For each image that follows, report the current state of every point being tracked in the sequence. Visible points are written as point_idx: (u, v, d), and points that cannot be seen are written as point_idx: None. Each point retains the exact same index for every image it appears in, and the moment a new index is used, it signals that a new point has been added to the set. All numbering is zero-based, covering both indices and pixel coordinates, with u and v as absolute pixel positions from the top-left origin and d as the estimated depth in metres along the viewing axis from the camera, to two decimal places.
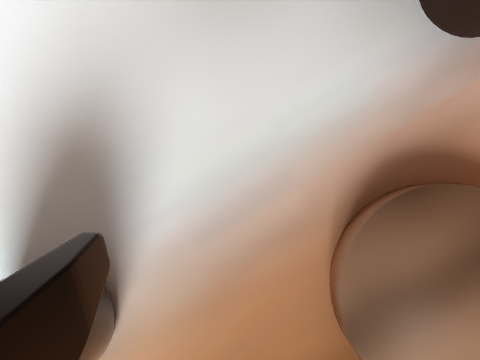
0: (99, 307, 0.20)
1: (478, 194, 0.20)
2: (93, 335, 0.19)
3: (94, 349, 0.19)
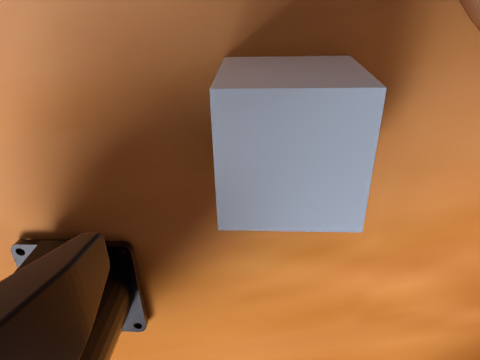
0: None
1: None
2: None
3: None
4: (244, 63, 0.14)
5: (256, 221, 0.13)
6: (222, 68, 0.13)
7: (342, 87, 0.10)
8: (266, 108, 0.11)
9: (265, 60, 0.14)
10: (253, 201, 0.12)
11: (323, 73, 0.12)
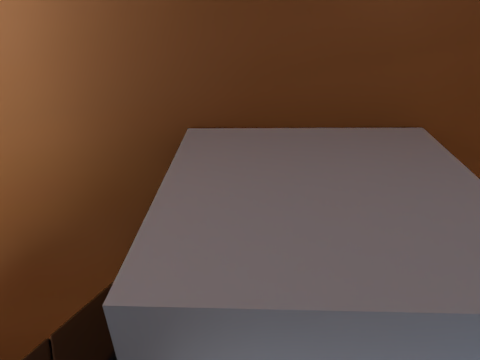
0: None
1: None
2: None
3: None
4: (221, 155, 0.07)
5: None
6: (172, 176, 0.06)
7: None
8: (268, 349, 0.04)
9: (264, 144, 0.07)
10: None
11: (401, 209, 0.05)
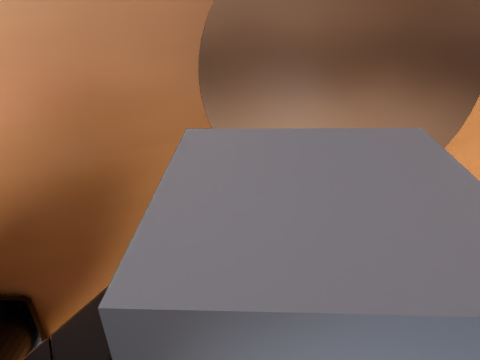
0: None
1: None
2: None
3: None
4: (219, 156, 0.07)
5: None
6: (169, 177, 0.06)
7: None
8: (266, 351, 0.04)
9: (262, 145, 0.07)
10: None
11: (399, 210, 0.05)
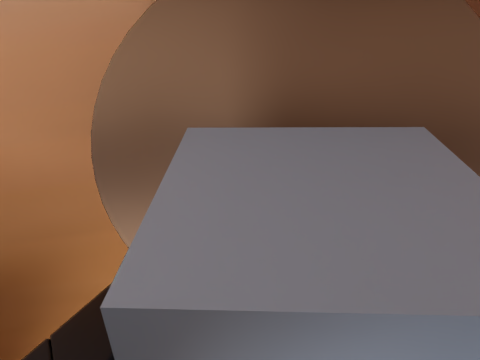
0: None
1: (461, 27, 0.09)
2: None
3: None
4: (221, 155, 0.07)
5: None
6: (171, 176, 0.06)
7: None
8: (269, 351, 0.04)
9: (264, 144, 0.07)
10: None
11: (403, 209, 0.05)
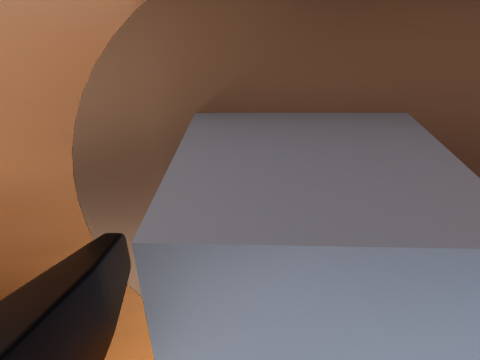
0: None
1: None
2: None
3: None
4: (226, 134, 0.08)
5: None
6: (182, 151, 0.07)
7: (448, 246, 0.04)
8: (266, 281, 0.05)
9: (263, 126, 0.08)
10: None
11: (381, 175, 0.06)
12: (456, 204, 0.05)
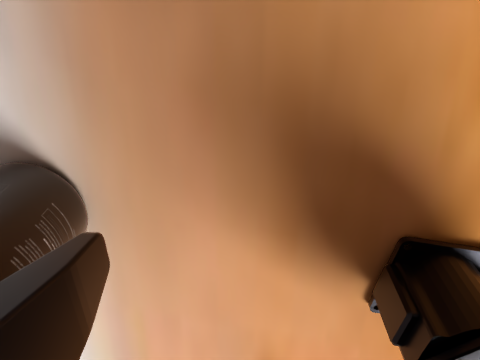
0: (13, 178, 0.19)
1: None
2: (20, 199, 0.19)
3: (38, 204, 0.19)
4: None
5: None
6: None
7: None
8: None
9: None
10: None
11: None
12: None
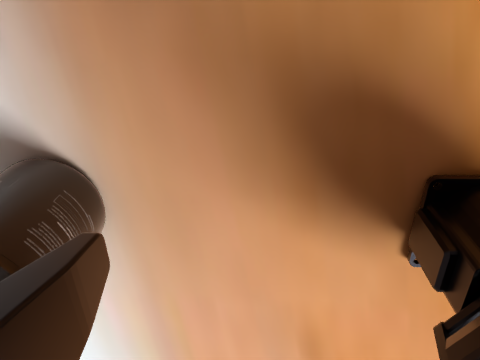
0: (25, 171, 0.20)
1: None
2: (31, 187, 0.19)
3: (49, 191, 0.19)
4: None
5: None
6: None
7: None
8: None
9: None
10: None
11: None
12: None
